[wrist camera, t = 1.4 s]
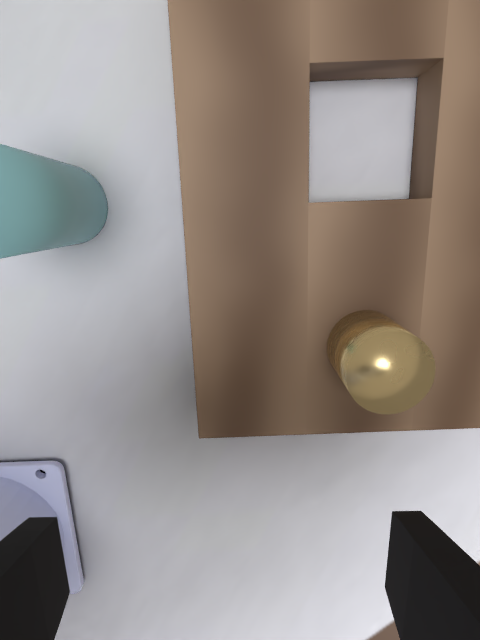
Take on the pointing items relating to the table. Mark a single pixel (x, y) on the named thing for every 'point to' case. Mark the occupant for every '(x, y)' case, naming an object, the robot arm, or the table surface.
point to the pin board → (327, 220)
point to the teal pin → (46, 203)
